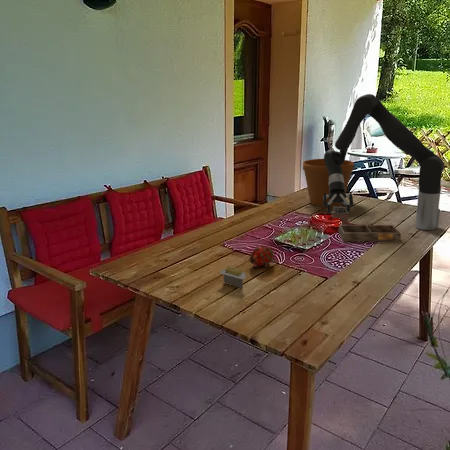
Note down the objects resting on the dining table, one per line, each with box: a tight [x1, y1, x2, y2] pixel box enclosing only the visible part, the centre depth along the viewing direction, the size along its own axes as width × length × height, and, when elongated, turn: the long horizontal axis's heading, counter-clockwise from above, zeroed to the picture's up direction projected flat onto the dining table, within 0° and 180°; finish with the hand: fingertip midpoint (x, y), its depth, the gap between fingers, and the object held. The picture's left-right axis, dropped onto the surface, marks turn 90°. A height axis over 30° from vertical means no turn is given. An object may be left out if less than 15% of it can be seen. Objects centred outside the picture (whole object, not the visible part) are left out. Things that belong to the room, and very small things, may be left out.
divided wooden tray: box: [338, 224, 401, 242], centre depth 202 cm, size 24×12×4 cm, turn 85°
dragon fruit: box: [249, 245, 275, 269], centre depth 172 cm, size 8×8×12 cm
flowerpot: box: [302, 158, 354, 208], centre depth 260 cm, size 28×28×24 cm
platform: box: [219, 265, 246, 289], centre depth 156 cm, size 12×18×7 cm, turn 54°
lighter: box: [330, 205, 349, 225], centre depth 217 cm, size 8×3×10 cm, turn 84°
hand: (338, 212), depth 219 cm, fingers open, 8 cm apart
